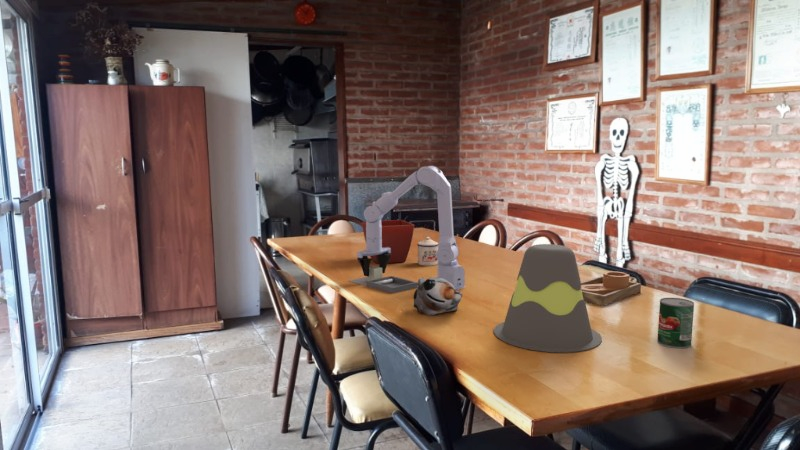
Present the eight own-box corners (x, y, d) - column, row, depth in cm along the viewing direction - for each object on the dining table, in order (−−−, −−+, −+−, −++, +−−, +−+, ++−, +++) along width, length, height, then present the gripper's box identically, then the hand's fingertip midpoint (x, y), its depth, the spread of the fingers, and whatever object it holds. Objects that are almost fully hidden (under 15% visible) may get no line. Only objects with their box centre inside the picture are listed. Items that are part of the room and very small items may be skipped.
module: (382, 281, 212) (382, 266, 211) (374, 282, 209) (374, 268, 208) (375, 279, 214) (375, 265, 214) (367, 281, 212) (367, 266, 211)
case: (417, 288, 202) (417, 282, 202) (392, 294, 194) (392, 288, 194) (391, 282, 212) (391, 275, 212) (366, 287, 204) (366, 281, 204)
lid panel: (391, 282, 212) (391, 278, 212) (366, 287, 204) (366, 284, 204) (372, 277, 220) (372, 274, 220) (347, 282, 212) (347, 278, 212)
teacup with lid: (421, 266, 240) (421, 239, 238) (414, 262, 248) (414, 236, 247) (447, 264, 244) (448, 237, 242) (439, 260, 252) (439, 234, 251)
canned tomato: (652, 343, 146) (654, 301, 144) (664, 336, 151) (666, 295, 150) (684, 351, 140) (687, 307, 139) (696, 343, 146) (699, 301, 144)
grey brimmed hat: (523, 313, 172) (525, 235, 169) (617, 332, 155) (621, 245, 151) (474, 337, 151) (475, 247, 148) (576, 362, 133) (580, 261, 130)
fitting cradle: (640, 291, 197) (641, 283, 197) (604, 305, 180) (604, 296, 180) (600, 284, 208) (600, 276, 208) (562, 296, 191) (562, 287, 191)
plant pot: (361, 257, 259) (361, 221, 257) (401, 255, 265) (401, 219, 263) (372, 266, 241) (372, 226, 239) (415, 263, 247) (415, 224, 245)
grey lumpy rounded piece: (463, 306, 179) (471, 273, 171) (450, 331, 170) (458, 297, 162) (419, 289, 183) (426, 256, 175) (404, 313, 174) (410, 279, 166)
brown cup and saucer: (618, 290, 201) (619, 270, 200) (633, 296, 193) (634, 276, 192) (572, 293, 196) (573, 273, 195) (585, 299, 188) (586, 279, 187)
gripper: (381, 234, 217) (382, 269, 219) (351, 239, 208) (352, 275, 210) (394, 236, 212) (394, 272, 214) (363, 241, 203) (364, 278, 204)
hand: (374, 274), depth 212 cm, fingers open, 7 cm apart
